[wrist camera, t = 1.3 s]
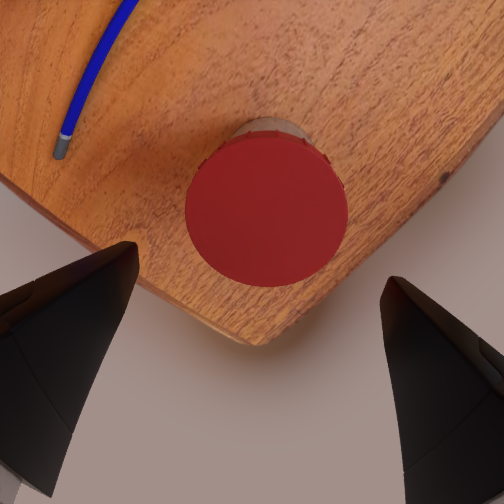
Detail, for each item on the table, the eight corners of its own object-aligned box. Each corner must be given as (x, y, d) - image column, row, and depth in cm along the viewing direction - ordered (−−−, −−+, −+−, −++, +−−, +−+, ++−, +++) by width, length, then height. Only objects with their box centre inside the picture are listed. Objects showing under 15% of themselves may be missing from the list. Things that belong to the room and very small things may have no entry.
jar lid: (354, 142, 12) (365, 152, 11) (323, 273, 16) (328, 296, 14) (199, 120, 12) (187, 127, 11) (193, 256, 16) (183, 278, 14)
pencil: (65, 159, 20) (58, 163, 20) (57, 154, 20) (49, 157, 19) (174, -46, 13) (169, -50, 12) (163, -49, 13) (158, -54, 12)
